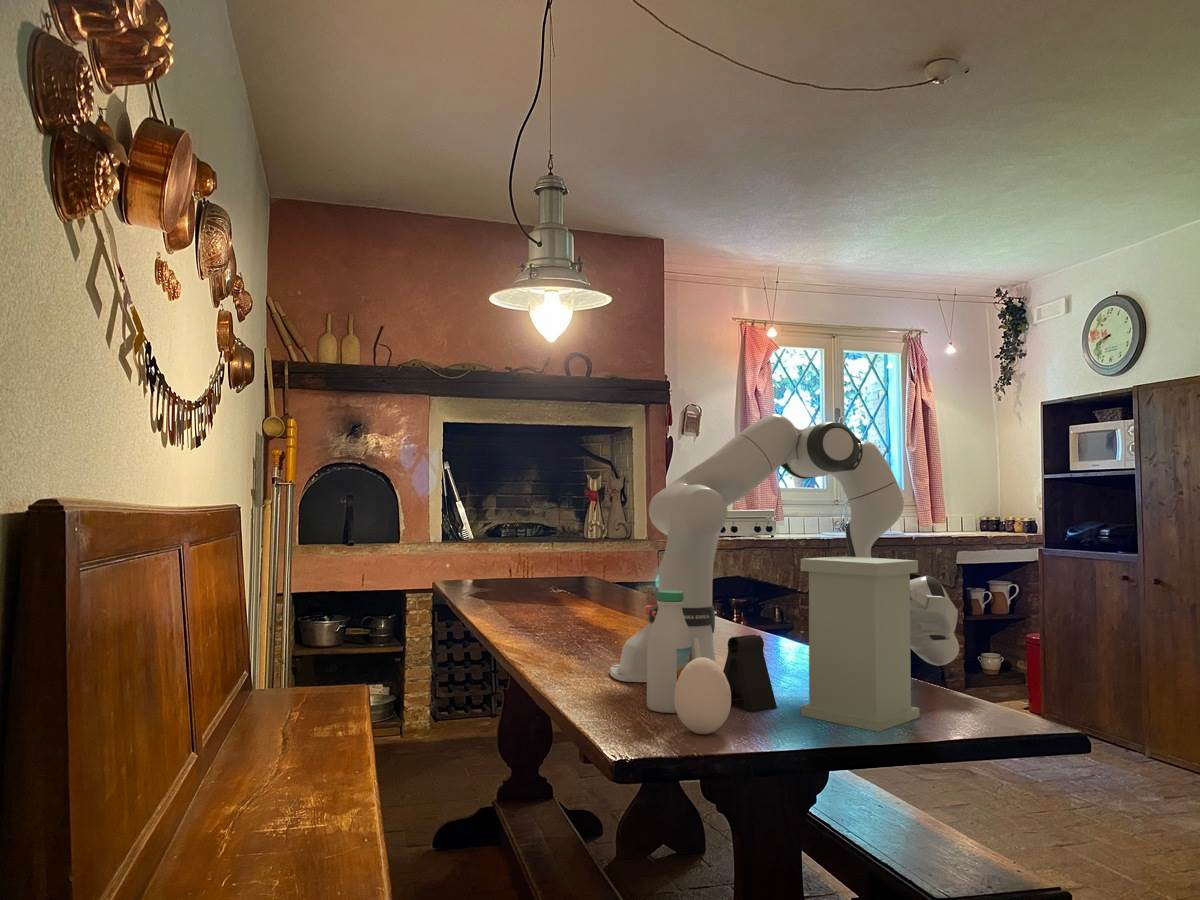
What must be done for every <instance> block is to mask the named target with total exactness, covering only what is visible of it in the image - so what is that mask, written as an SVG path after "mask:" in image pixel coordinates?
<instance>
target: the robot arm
mask: <svg viewBox="0 0 1200 900" xmlns="http://www.w3.org/2000/svg"><path fill="white" fill-rule="evenodd" d="M780 467H782V468H783V469H784V470H785V472H787V473H789V475H791V476H793V477H795V478H798V479H804V480H809V479H813V478H818V477H825V476H828V475H832V476H833V477H834V478H835V479H836V480H838V482H839V483H840V484H841V487H842V489H843V491H844V492H843V493H844V494H845V497H846V498H847V501H848V503H849V507H850V520H849V522H848V523H847V525H845V538H846V539H845V540H846V545H847V550H848V554H849V557H865V558H872V554H871V552H872V551H871V550H872V546H873V545H874V543H875V542H876V541H877V540H879V538H881V536H882V535H884V534H885V533H886V532H887V531H888V530H890V528H891V527H893V526H894V525H895V524H896V523H897V522H898V520H899V519H900V517H901V516H902V513H903V511H904V507H905V506H904V505H905V501H904V495H903V494H902V490H901V488H900V486H899V483H898V481H897V479H896V477H895V474H894V472H893V471H892V469H891V467H890V465H889V463H888V462H887V459H886V458H885V457H884V455H883V454H882V452H881V450H879V448H878V446H876V444H874V443H873V442H872V441H869V440H861V439H859V438H858V437H857V436H856V435H855V433H854V432H853V431H852V430H851V429H850V428H849V427H848V426H847V425H845V424H843V423H841V422H837V421H825V422H821V423H819V424H815V425H812V426H809V427H808V426H807V427H805V428H803V429H799V428H797V427H796V426H795V424H794V423H792V422H791V420H789V418H787V417H785V416H784V415H781V414H778V413H777V414H776V413H773V414H769V415H766V416H764V417H761V419H758V420H757V421H755V422H753V423H752V424H751V425H749V426H747V427H746V428H745V429H743V430H741V431H740V432H739V433H737V435H735V436H734V437H732V439H731V440H729V441H728V442H727V443H725V444H724V445H723V446H722V447H721V448H719V449H718V450H717V451H716V452H715V453H713V454H712V455H711V456H709V457H708V458H707V459H705V460H704V461H702V462H701V463H698V465H696V466H695V467H693V468H692V469H690V470H689V471H687V472H685V473H684V474H683V475H681V476H680V477H678V478H677V479H676V480H674V481H673V482H671V483H670V484H669V485H667V486H665V487H664V488H663V489H661V490H660V491H658V492H657V493H656V494H655V495H654V496H653V497H652V499H651V500H650V503H649V506H648V516H649V519H650V522H651V523H652V525H653V526H654V527H655V528H656V530H658V531H659V532H661V533H663V534H664V535H666V536H667V539H666V544H665V547H664V548H665V550H664V552H663V557H662V560H661V562H660V564H659V567H658V591H662V590H675V591H682V592H683V594H684V600H683V603H684V604H683V605H682V611H683V615H684V618H685V621H686V623H687V626H688V628H689V631H690V634H691V640H692V660H694V659H696V658H700V657H704V658H708V659H711V660H713V661H714V662H715V663H716V664H717V665H718V662H717V657H716V656H717V655H716V649H715V641H714V634H715V629H716V613H715V606H714V605H713V577H714V576H713V575H714V573H713V572H714V563H715V557H716V553H717V548H718V544H719V538H720V534H721V531H722V529H723V528H724V526H725V524H726V522H727V520H728V515H729V513H728V511H729V509H728V508H729V506H731V505H733V504H735V503H737V502H738V501H740V500H742V499H744V498H745V497H746V496H748V494H750V493H751V492H752V491H753V490H755V489H756V488H757V487H759V485H761V483H763V482H764V481H765V480H766V479H767V478H769V476H771V475H772V474H773V473H774V472H776V470H777V469H778V468H780ZM657 611H658V604H656V605H655V606H652V605H650V604H649V605H647V604H646V605H645V607H644V608H643V612H644V614H645V615H647V616H648V622H649V623H647V625H645V626H644V627H643V628H641V629H640V630H638V632H636V633H635V634H634V635H632V636H631V637H630V638H628V639H627V640H626V641H625V643H624V645H623V646H622V652H621V654H620V664H614V665H611V667H610V668H609V675H610V677H612V678H613V679H615V680H617V681H621V682H626V683H627V682H628V683H647V650H648V637H649V632H650V629H651V627H652V625H653V623H654V620H655V618H656V615H657ZM958 614H959V610H958V609H957V608H956V605H955V604H954V603H953V600H952V597H951V594H950V593H949V591H948V590H947V588H946V587H945V586H944V584H943V583H942V582H941V581H940V580H938V579H936V578H935V577H934V576H931V575H928V574H927V575H925V576H923V575H922V576H919V577H916V578H913V579H910V650H911V651H913V653H915V654H916V655H917V656H918V657H919V658H920V659H922V660H923V661H924V662H926V663H928V664H930V665H933V666H945V665H948V664H949V663H951V662H953V661H954V660H955V659H956V657H957V656H958V655H959V652H960V645H959V641H958V639H957V637H956V635H955V631H956V627H957V622H958V616H959V615H958Z"/></svg>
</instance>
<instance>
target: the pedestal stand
mask: <svg viewBox="0 0 1200 900" xmlns="http://www.w3.org/2000/svg"><path fill="white" fill-rule="evenodd" d="M800 572H808V704H804V705H801V706H800V716H802V717H806V718H812V719H816V720H820V721H825V722H831V723H835V724H840V725H845V726H848V727H849V726H850V727H854V728H859V729H863V730H867V731H874V732H877V733H878V732H882V731H885V730H888V729H891V728H893V727H896V726H899V725H902V724H906V723H908V722H910V721H913V720H916V719H919V718H920V716H921V715H920V712H921V711H920V707H917V706H916V707H915V706H912V689H911V688H912V684H911V683H912V680H911V679H912V677H911V676H912V674H911V668H912V667H911V666H912V664H911V661H912V660H911V658H912V657H911V648H910V580H911V577H910V576H911V575H910V574H915V573H917V574H918V573H919V560H918V559H917V560H914V559H899V558H895V559H894V558H883V557H882V558H879V557H878V558H877V557H871V558H865V557H850V556H848V555H847V556H845V555H843V556H840V555H839V556H827V557H811V558H809V557H808V558H800Z"/></svg>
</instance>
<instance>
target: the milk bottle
mask: <svg viewBox="0 0 1200 900" xmlns="http://www.w3.org/2000/svg"><path fill="white" fill-rule="evenodd" d="M683 600H684V594H683V592H682V591H675V590H662V591H659V590H658V591H657V592H656V605H658V611H657V615H656V618H655V620H654V623H653V625H652V627H651V629H650V632H649V637H648V650H647V682H646V706H647V709H648V710H650V711H653V712H657V713H664V714H677V711H676V708H675V702H674V695H675V687H676V683H677V681H678V678H679V676H680V674H681V672H682V670H683V669H684V668H685V667H686V665H687V664H688V663H689V662H691V661H692V640H691V634H690V631H689V628H688V626H687V623H686V621H685V618H684V615H683V611H682V605H683V604H684V603H683Z"/></svg>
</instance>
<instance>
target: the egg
mask: <svg viewBox="0 0 1200 900" xmlns="http://www.w3.org/2000/svg"><path fill="white" fill-rule="evenodd" d="M674 702H675V708H676V711H677V713H676V714H677V716H678V718H679V720H680V721H681V722H682V724H683V725H684V726H685V727H686V728H687V729H688V730H690V731H691V732H693V733H696V734H700V735H709V734H712V733H713V732H716V731H717V730H719V728H720V727H722V725H724V723H725V722H726V721H727V719H728V717H729V714H730V711H731V708H732V707H731V691H730V685H729V683H728V681H727V678H726V676H725V674H724V672H723V669H722V667H721V666H719V664H718V663H717V664H716V663H715V662H714V661H713V660H711V659H708V658H704V657H700V658H696V659H694V660H692V661H691V662H689V663H688V664H687V665H686V667H685V668H684V669H683V670H682V672H681V674H680V676H679V678H678V681H677V683H676V687H675V695H674Z"/></svg>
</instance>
